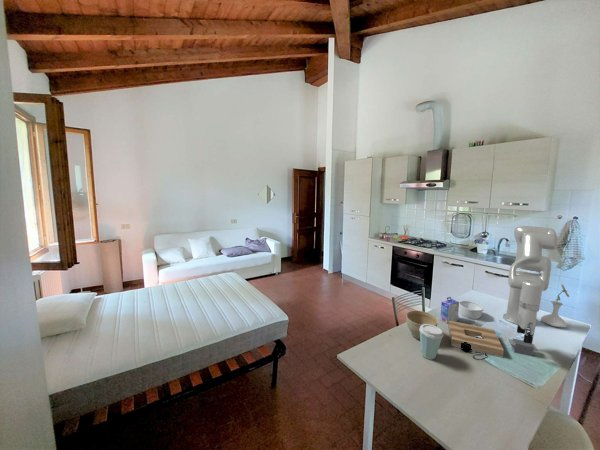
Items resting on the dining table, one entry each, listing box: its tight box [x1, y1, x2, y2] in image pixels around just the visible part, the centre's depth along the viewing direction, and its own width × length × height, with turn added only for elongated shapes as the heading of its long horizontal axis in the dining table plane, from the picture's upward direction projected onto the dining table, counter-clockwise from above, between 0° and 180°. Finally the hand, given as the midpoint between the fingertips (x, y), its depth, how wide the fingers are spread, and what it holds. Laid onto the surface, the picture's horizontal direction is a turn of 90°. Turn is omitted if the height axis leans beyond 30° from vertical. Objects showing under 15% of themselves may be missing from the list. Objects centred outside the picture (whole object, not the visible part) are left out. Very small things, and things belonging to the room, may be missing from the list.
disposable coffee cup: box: [419, 324, 444, 360], centre depth 128 cm, size 11×11×15 cm
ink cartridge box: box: [439, 296, 460, 324], centre depth 161 cm, size 10×6×14 cm, turn 115°
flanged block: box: [508, 338, 539, 357], centre depth 132 cm, size 5×10×5 cm, turn 65°
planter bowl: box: [405, 310, 439, 340], centre depth 145 cm, size 16×16×11 cm
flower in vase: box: [540, 284, 570, 328], centre depth 157 cm, size 13×11×25 cm
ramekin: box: [458, 300, 484, 320], centre depth 168 cm, size 13×13×7 cm
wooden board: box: [447, 321, 505, 359], centre depth 141 cm, size 20×22×4 cm
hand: (524, 337), depth 131 cm, fingers open, 9 cm apart
